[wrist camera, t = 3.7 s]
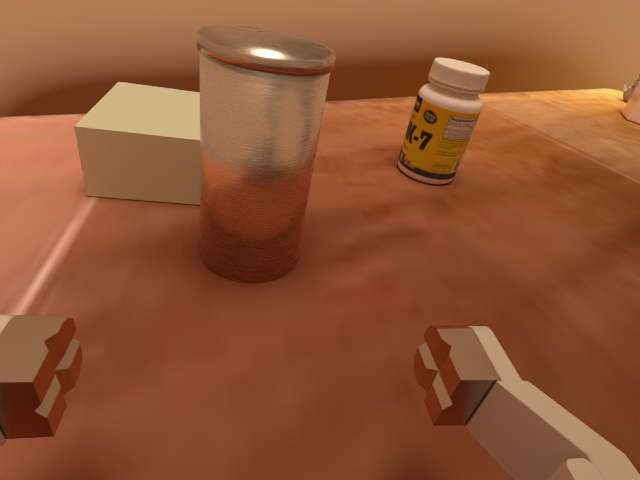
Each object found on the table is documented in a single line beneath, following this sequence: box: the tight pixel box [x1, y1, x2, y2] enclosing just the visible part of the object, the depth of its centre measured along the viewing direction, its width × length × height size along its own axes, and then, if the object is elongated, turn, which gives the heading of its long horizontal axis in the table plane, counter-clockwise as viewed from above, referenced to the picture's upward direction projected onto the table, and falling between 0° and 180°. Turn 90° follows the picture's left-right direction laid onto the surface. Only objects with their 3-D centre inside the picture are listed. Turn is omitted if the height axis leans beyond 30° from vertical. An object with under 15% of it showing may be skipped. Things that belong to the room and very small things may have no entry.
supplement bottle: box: [398, 58, 490, 184], centre depth 31 cm, size 5×5×8 cm
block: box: [74, 82, 200, 205], centre depth 25 cm, size 8×8×4 cm
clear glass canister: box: [197, 25, 336, 283], centre depth 18 cm, size 5×5×10 cm
